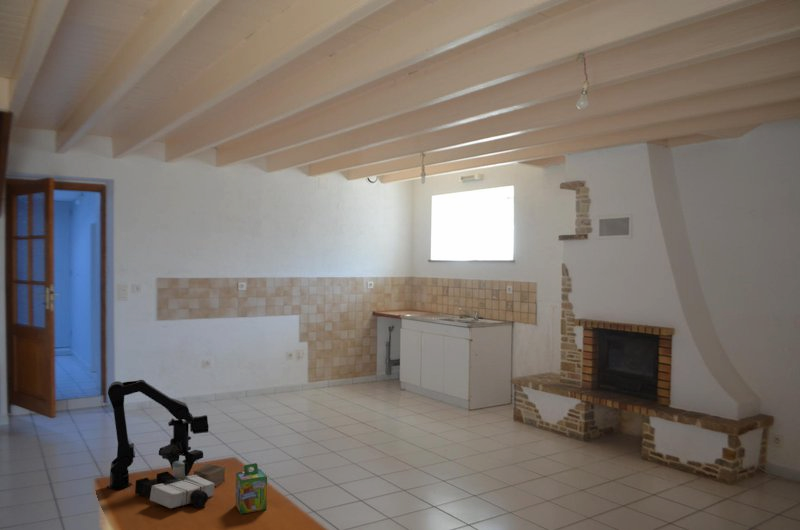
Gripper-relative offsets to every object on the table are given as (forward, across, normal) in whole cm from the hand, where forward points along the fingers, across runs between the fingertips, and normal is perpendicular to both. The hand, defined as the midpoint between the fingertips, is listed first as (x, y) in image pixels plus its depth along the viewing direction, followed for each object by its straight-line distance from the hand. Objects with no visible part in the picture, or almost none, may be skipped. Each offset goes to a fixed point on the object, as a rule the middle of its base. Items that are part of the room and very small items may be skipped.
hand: (180, 474), depth 230 cm
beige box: (+1, +15, 0) cm, 15 cm away
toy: (+2, +15, -16) cm, 21 cm away
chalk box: (+2, +44, -10) cm, 45 cm away
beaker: (+1, 0, 0) cm, 1 cm away
